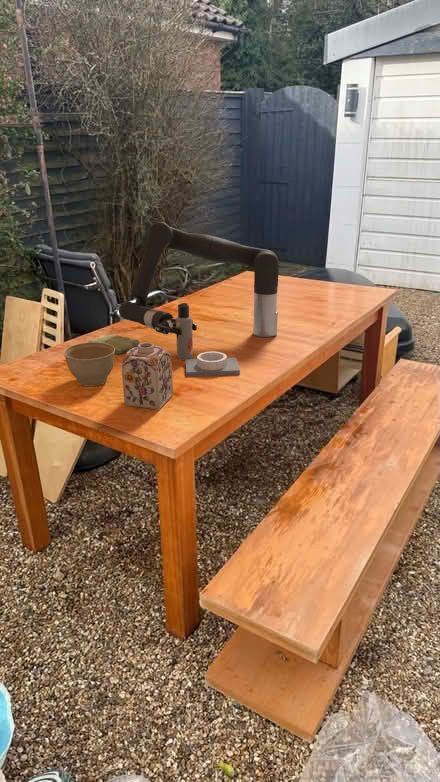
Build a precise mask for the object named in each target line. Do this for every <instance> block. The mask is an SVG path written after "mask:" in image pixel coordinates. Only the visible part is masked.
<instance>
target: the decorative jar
mask: <svg viewBox="0 0 440 782" xmlns="http://www.w3.org/2000/svg"><path fill="white" fill-rule="evenodd" d="M125 353H126V354H125V355H124V358H123V360H122V362H121V375H122V378H121V379H122V390H123V402H124V406H125V407H135V408H136V407H137V408H143V409H148V410H149V409H150V410H156V411H157V410H158V411H160V410H161V409H162V408H163V406H165V404H166V403H167V402H168V401H169V400H170V398H172V396H173V395H174V391H173V390H174V386H173V385H174V384H173V380H174V379H173V366H172V355H171V354H170V352H168V351H167V350H166V349H164V348H163V347H162V346H158V345H154V344H153V343H152V342H142V343H141V342H140V344H139V345H138V347H135V348H132V349H131V350H128V351H127V352H125Z"/></svg>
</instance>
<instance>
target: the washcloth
mask: <svg viewBox="0 0 440 782" xmlns="http://www.w3.org/2000/svg"><path fill="white" fill-rule="evenodd" d="M87 342H101V343H107V344H110V345H112V346H113V347H114V348H115V355H121V354H123V353H127V352H128V351H129V350H131V349H132V348H135V347H138V345H139V344H140V343H141V342H140V340H138V339H136V338H130V337H127V336H121V335H118V334H108V335H104V336H99V337H97V338H95V339H90V340H88V341H87Z"/></svg>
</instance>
